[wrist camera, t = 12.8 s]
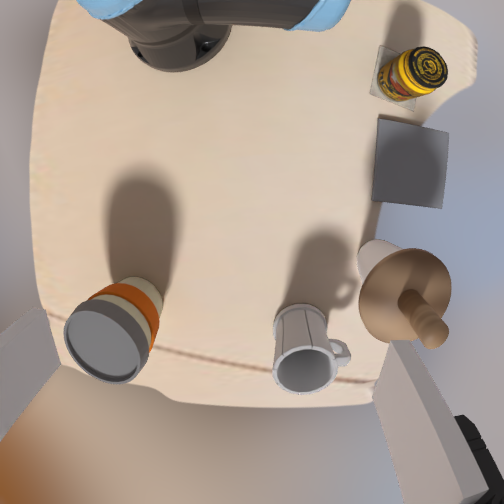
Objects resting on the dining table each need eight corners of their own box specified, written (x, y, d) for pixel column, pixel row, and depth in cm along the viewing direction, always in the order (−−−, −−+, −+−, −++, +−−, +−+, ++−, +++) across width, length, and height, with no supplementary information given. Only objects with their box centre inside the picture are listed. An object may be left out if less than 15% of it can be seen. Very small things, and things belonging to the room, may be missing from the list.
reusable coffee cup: (94, 283, 52) (47, 325, 37) (147, 254, 49) (104, 294, 35) (132, 340, 55) (98, 392, 41) (186, 318, 52) (160, 374, 38)
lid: (366, 245, 33) (394, 278, 25) (455, 250, 33) (497, 279, 24) (350, 339, 37) (367, 387, 29) (433, 336, 37) (462, 377, 28)
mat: (377, 119, 41) (379, 118, 40) (446, 133, 40) (449, 133, 39) (371, 199, 44) (373, 200, 44) (439, 207, 44) (441, 209, 43)
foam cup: (398, 222, 45) (436, 248, 33) (406, 276, 48) (440, 314, 36) (340, 239, 47) (363, 272, 34) (352, 293, 49) (374, 337, 37)
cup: (321, 288, 49) (334, 328, 38) (343, 330, 52) (359, 375, 40) (262, 316, 51) (260, 361, 40) (288, 356, 54) (290, 404, 42)
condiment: (369, 94, 40) (399, 79, 28) (379, 45, 37) (410, 19, 26) (412, 111, 40) (453, 104, 28) (422, 63, 37) (461, 45, 26)
